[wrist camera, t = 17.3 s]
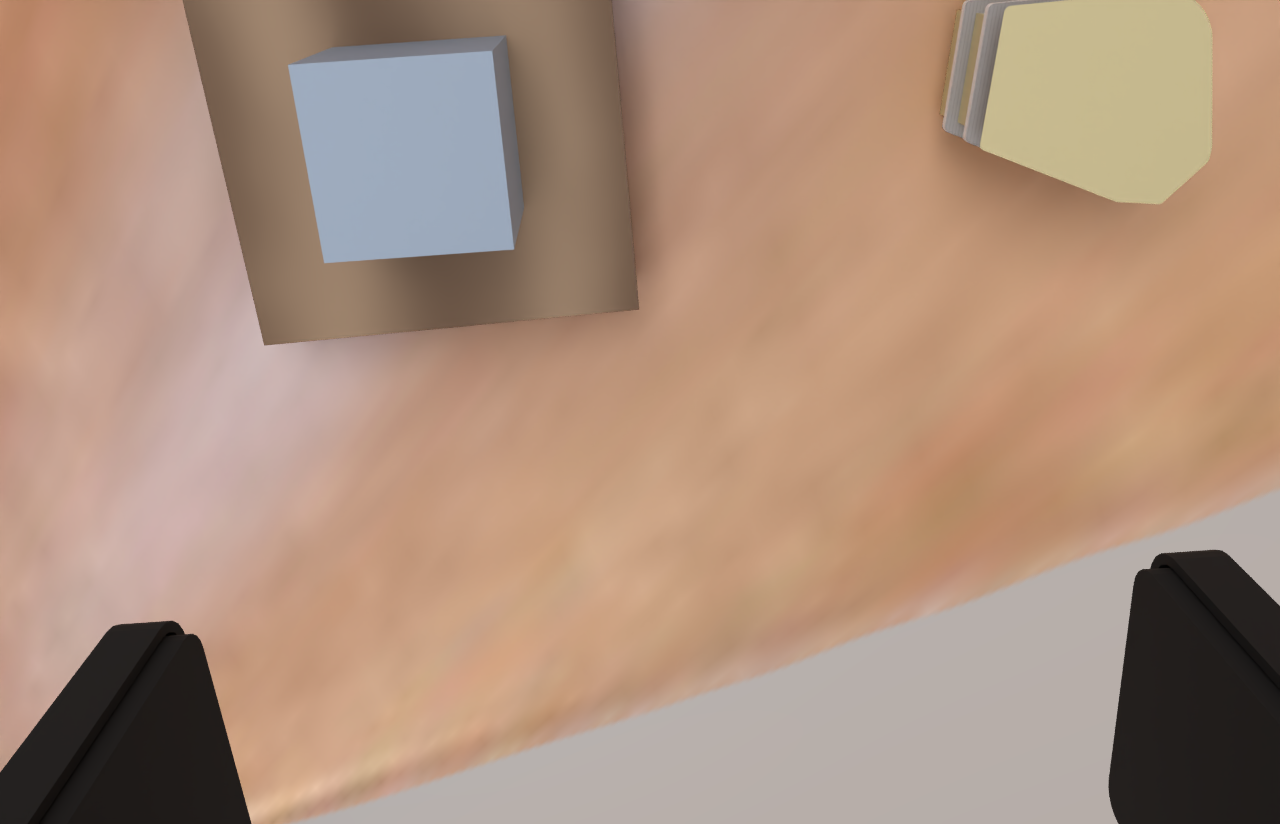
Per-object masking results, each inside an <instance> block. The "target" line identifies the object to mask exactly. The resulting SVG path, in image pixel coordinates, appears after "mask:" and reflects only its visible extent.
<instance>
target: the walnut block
mask: <svg viewBox="0 0 1280 824" xmlns="http://www.w3.org/2000/svg"><path fill="white" fill-rule="evenodd" d="M183 4H184V8H185V12H186V17H187V21H188V25H189V29H190V34H191V38H192V42H193V46H194V50H195V55H196V59H197V63H198V67H199V72H200V76H201V80H202V84H203V88H204V93H205V97H206V101H207V105H208V110H209V114H210V118H211V122H212V126H213V131H214V135H215V139H216V143H217V148H218V152H219V156H220V160H221V165H222V169H223V173H224V177H225V181H226V186H227V190H228V194H229V198H230V203H231V207H232V211H233V215H234V219H235V224H236V228H237V232H238V236H239V241H240V245H241V249H242V253H243V257H244V262H245V266H246V270H247V274H248V279H249V283H250V287H251V291H252V295H253V300H254V304H255V308H256V312H257V317H258V321H259V325H260V329H261V333H262V338H263V342H264V345H274V344H284V343H294V342H305V341H315V340H326V339H336V338H347V337H357V336H368V335H378V334H388V333H399V332H409V331H420V330H430V329H441V328H451V327H462V326H472V325H482V324H493V323H503V322H514V321H524V320H535V319H545V318H556V317H566V316H577V315H587V314H597V313H608V312H618V311H629V310H639V302H638V291H637V280H636V269H635V258H634V246H633V235H632V224H631V213H630V202H629V190H628V179H627V168H626V157H625V146H624V134H623V123H622V112H621V101H620V90H619V78H618V67H617V56H616V45H615V34H614V22H613V11H612V0H183ZM505 35H506V40H507V50H508V59H509V69H510V78H511V88H512V97H513V107H514V116H515V126H516V135H517V145H518V154H519V164H520V173H521V183H522V192H523V202H524V210H523V214H522V219H521V223H520V227H519V231H518V235H517V240H516V244H515V248H514V250H500V251H486V252H472V253H458V254H444V255H431V256H417V257H403V258H389V259H375V260H361V261H347V262H334V263H324V259H323V254H322V249H321V243H320V238H319V232H318V227H317V221H316V216H315V210H314V205H313V199H312V194H311V188H310V183H309V178H308V172H307V167H306V161H305V156H304V150H303V145H302V139H301V134H300V128H299V123H298V117H297V112H296V106H295V101H294V96H293V90H292V85H291V79H290V74H289V68H288V65H289V64H291V63H294V62H296V61H299V60H301V59H304V58H306V57H309V56H311V55H314V54H317V53H319V52H322V51H324V50H327V49H329V48H332V47H345V46H359V45H374V44H388V43H403V42H417V41H432V40H447V39H461V38H476V37H490V36H505Z"/></svg>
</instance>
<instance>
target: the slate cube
mask: <svg viewBox="0 0 1280 824" xmlns="http://www.w3.org/2000/svg"><path fill="white" fill-rule="evenodd" d="M288 68H289V74H290V79H291V85H292V90H293V96H294V101H295V106H296V112H297V117H298V123H299V128H300V134H301V139H302V145H303V150H304V156H305V161H306V167H307V172H308V178H309V183H310V188H311V194H312V199H313V205H314V210H315V216H316V221H317V227H318V232H319V238H320V243H321V249H322V254H323V259H324V263H334V262H347V261H361V260H375V259H389V258H403V257H417V256H431V255H444V254H458V253H472V252H486V251H500V250H514V248H515V244H516V240H517V235H518V231H519V227H520V223H521V219H522V214H523V210H524V202H523V192H522V183H521V173H520V164H519V154H518V145H517V135H516V126H515V116H514V107H513V97H512V88H511V78H510V69H509V59H508V50H507V40H506V35H505V36H490V37H476V38H461V39H447V40H432V41H417V42H403V43H388V44H374V45H359V46H345V47H332V48H329V49H327V50H324V51H322V52H319V53H317V54H314V55H311V56H309V57H306V58H304V59H301V60H299V61H296V62H294V63H291V64H289V65H288Z"/></svg>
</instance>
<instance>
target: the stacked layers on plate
mask: <svg viewBox="0 0 1280 824" xmlns="http://www.w3.org/2000/svg"><path fill="white" fill-rule="evenodd" d="M940 114H941V115H943V116H944V119H943V125H942V127H943V130H944V131H946V132H948V133H951V134H953V135H956V136H959V137H961V138H963V139H964V140H965V141H966V142H968V143H970V144H973V145H975V146H978V147H980V148H981V149H982V150H984V151H986V152H989V153H991V154H994V155H997V156H999V157H1002V158H1004V159H1007V160H1009V161H1012V162H1015V163H1017V164H1020V165H1022V166H1025V167H1027V168H1030V169H1033V170H1035V171H1038V172H1040V173H1043V174H1045V175H1048V176H1051V177H1053V178H1056V179H1058V180H1061V181H1063V182H1066V183H1069V184H1071V185H1074V186H1076V187H1079V188H1081V189H1084V190H1087V191H1089V192H1092V193H1094V194H1097V195H1099V196H1102V197H1105V198H1107V199H1110V200H1112V201H1115V202H1124V203H1144V204H1161V203H1163V202H1164V201H1165V200H1166V199H1167V198H1168V197H1170V196H1171V195H1172V194H1173V193H1174V192H1175V191H1176V190H1177V189H1178V188H1180V187H1181V186H1182V185H1183V184H1184V183H1185V182H1186V181H1187V180H1188V179H1190V178H1191V177H1192V176H1193V175H1194V174H1195V173H1196V172H1197V171H1198V170H1200V169H1201V168H1202V167H1203V166H1204V165H1205V164H1206V163H1207V162H1208V160H1209V157H1210V153H1211V150H1212V30H1211V25H1210V22H1209V19H1208V17H1207V15H1206V13H1205V11H1204V10H1203V9H1202V7H1201V6H1200V5H1199V4H1198V3H1197V2H1196V1H1195V0H966V1H965V2H964V3H963V5H962V10H957V12H956V18H955V24H954V30H953V36H952V42H951V48H950V54H949V60H948V67H947V73H946V79H945V85H944V91H943V97H942V103H941V109H940Z"/></svg>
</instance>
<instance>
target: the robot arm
mask: <svg viewBox="0 0 1280 824" xmlns="http://www.w3.org/2000/svg"><path fill="white" fill-rule="evenodd" d="M1109 797H1110V801H1111V806H1112V809H1113V812H1114V815H1115V817H1116V819H1117V822H1118V823H1119V824H1280V606H1279V605H1278V604H1277V603H1276V602H1275V601H1274V600H1273V599H1272V598H1271V597H1270V596H1269V595H1268V594H1267V593H1266V592H1265V591H1264V590H1263V589H1262V588H1261V587H1260V586H1259V585H1258V584H1257V583H1256V582H1255V581H1254V580H1253V579H1252V578H1251V577H1250V576H1249V575H1248V574H1247V573H1246V572H1245V571H1244V570H1243V569H1242V568H1241V567H1240V566H1239V565H1238V564H1237V563H1236V562H1235V561H1234V560H1233V559H1232V558H1231V557H1230V556H1229V555H1228V554H1226V553H1225V552H1223V551H1220V550H1207V551H1206V550H1205V551H1192V552H1191V551H1190V552H1177V553H1176V552H1175V553H1161V554H1159V555H1158V556H1156V557H1155V559H1154V561H1153V562H1152V565H1151V568H1150V569H1142V570H1140V571H1139V572H1138V573H1137V575H1136V577H1135V581H1134V586H1133V593H1132V601H1131V609H1130V617H1129V625H1128V633H1127V641H1126V648H1125V657H1124V664H1123V672H1122V680H1121V688H1120V696H1119V703H1118V711H1117V719H1116V727H1115V735H1114V744H1113V751H1112V759H1111V767H1110V774H1109ZM0 824H251V820H250V817H249V813H248V809H247V806H246V802H245V798H244V795H243V791H242V788H241V784H240V780H239V777H238V773H237V769H236V766H235V762H234V758H233V755H232V751H231V747H230V744H229V740H228V736H227V733H226V729H225V725H224V722H223V718H222V714H221V711H220V707H219V703H218V700H217V696H216V693H215V689H214V685H213V682H212V678H211V674H210V671H209V667H208V663H207V660H206V656H205V652H204V649H203V646H202V643H201V641H200V639H199V638H198V637H197V636H196V635H194V634H184V631H183V629H182V628H181V627H180V625H179V624H178V623H176V622H174V621H163V622H148V623H134V624H120V625H116V626H113V627H112V628H111V629H109V630H108V631H107V632H106V634H105V635H104V636H103V638H102V639H101V640H100V642H99V643H98V644H97V646H96V647H95V648H94V650H93V651H92V652H91V653H90V655H89V656H88V657H87V659H86V660H85V661H84V663H83V664H82V665H81V667H80V668H79V669H78V671H77V672H76V673H75V675H74V676H73V677H72V679H71V680H70V681H69V683H68V684H67V685H66V686H65V688H64V689H63V690H62V692H61V693H60V694H59V696H58V697H57V698H56V700H55V701H54V702H53V704H52V705H51V706H50V708H49V709H48V710H47V712H46V713H45V714H44V716H43V717H42V718H41V719H40V721H39V722H38V723H37V725H36V726H35V727H34V729H33V730H32V731H31V733H30V734H29V735H28V737H27V738H26V739H25V741H24V742H23V743H22V745H21V746H20V747H19V749H18V750H17V751H16V752H15V754H14V755H13V756H12V758H11V759H10V760H9V762H8V763H7V764H6V766H5V767H4V768H3V770H2V771H1V772H0Z"/></svg>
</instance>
